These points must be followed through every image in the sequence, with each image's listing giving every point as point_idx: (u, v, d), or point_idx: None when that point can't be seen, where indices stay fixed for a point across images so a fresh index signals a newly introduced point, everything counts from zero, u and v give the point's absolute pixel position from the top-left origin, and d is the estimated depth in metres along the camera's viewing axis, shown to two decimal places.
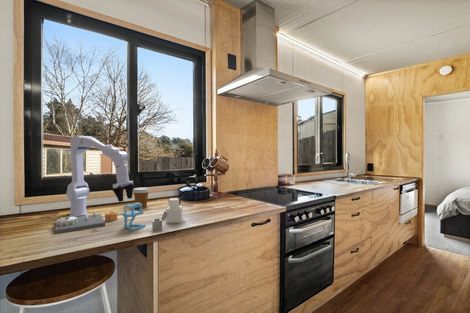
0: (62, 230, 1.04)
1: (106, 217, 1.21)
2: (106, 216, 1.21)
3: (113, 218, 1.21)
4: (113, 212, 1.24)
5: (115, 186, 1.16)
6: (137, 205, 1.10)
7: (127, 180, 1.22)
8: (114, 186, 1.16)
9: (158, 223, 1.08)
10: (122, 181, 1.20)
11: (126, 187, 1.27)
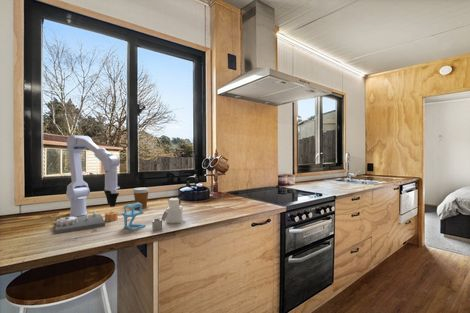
0: (62, 230, 1.04)
1: (106, 217, 1.21)
2: (106, 216, 1.21)
3: (113, 218, 1.21)
4: (113, 212, 1.24)
5: (114, 191, 1.17)
6: (137, 205, 1.10)
7: None
8: (113, 191, 1.16)
9: (158, 223, 1.08)
10: (114, 186, 1.21)
11: (107, 192, 1.25)
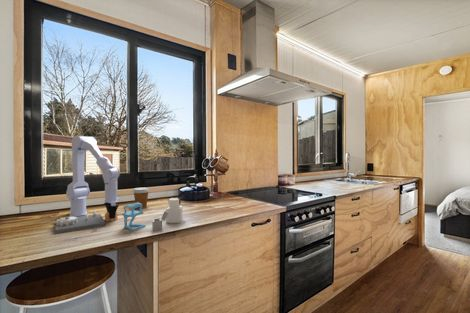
0: (62, 230, 1.04)
1: (106, 217, 1.21)
2: (106, 216, 1.21)
3: (113, 218, 1.21)
4: None
5: (114, 204, 1.17)
6: (137, 205, 1.10)
7: None
8: (113, 204, 1.17)
9: (158, 223, 1.08)
10: (114, 198, 1.21)
11: (108, 204, 1.24)
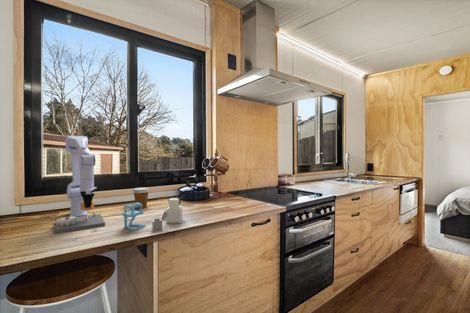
0: (62, 230, 1.04)
1: None
2: (81, 205, 1.14)
3: None
4: None
5: (89, 192, 1.11)
6: (137, 205, 1.10)
7: (93, 186, 1.17)
8: (88, 192, 1.10)
9: (158, 223, 1.08)
10: (90, 187, 1.15)
11: (84, 193, 1.18)
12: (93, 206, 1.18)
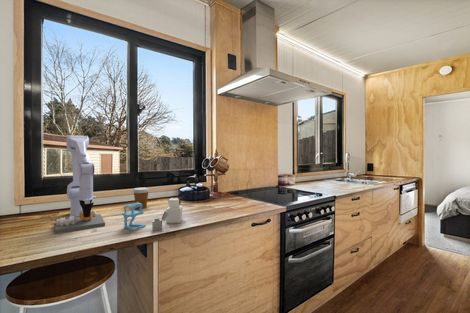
0: (62, 230, 1.04)
1: None
2: None
3: (88, 217, 1.15)
4: None
5: (88, 202, 1.10)
6: (137, 205, 1.10)
7: (92, 195, 1.17)
8: (87, 202, 1.10)
9: (158, 223, 1.08)
10: (89, 196, 1.15)
11: (83, 202, 1.18)
12: (92, 215, 1.17)
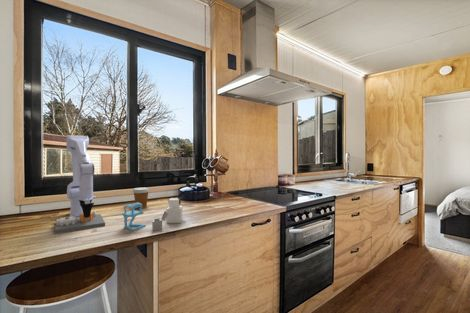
0: (62, 230, 1.04)
1: None
2: None
3: (88, 219, 1.15)
4: None
5: (88, 202, 1.10)
6: (137, 205, 1.10)
7: (92, 195, 1.17)
8: (87, 202, 1.10)
9: (158, 223, 1.08)
10: (89, 196, 1.15)
11: (83, 202, 1.18)
12: (92, 217, 1.17)
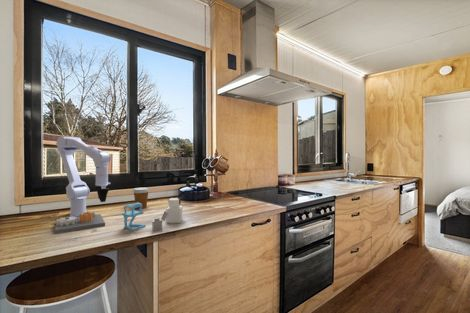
0: (62, 230, 1.04)
1: None
2: None
3: (88, 219, 1.15)
4: (89, 212, 1.18)
5: (104, 187, 1.19)
6: (137, 205, 1.10)
7: (107, 181, 1.26)
8: (103, 187, 1.19)
9: (158, 223, 1.08)
10: (105, 182, 1.24)
11: (98, 188, 1.27)
12: (92, 217, 1.17)
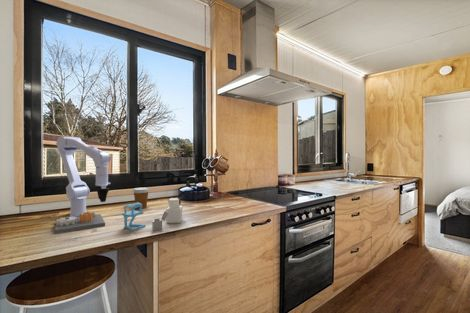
0: (62, 230, 1.04)
1: None
2: None
3: (88, 219, 1.15)
4: (89, 212, 1.18)
5: (104, 187, 1.20)
6: (137, 205, 1.10)
7: (107, 181, 1.26)
8: (103, 187, 1.19)
9: (158, 223, 1.08)
10: (105, 182, 1.24)
11: (98, 188, 1.27)
12: (92, 217, 1.17)
